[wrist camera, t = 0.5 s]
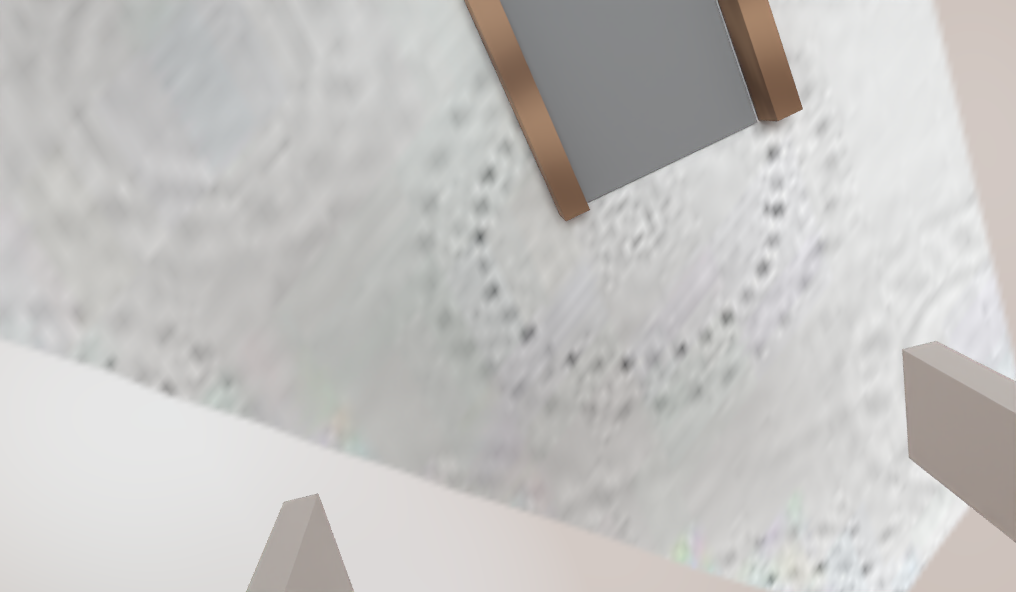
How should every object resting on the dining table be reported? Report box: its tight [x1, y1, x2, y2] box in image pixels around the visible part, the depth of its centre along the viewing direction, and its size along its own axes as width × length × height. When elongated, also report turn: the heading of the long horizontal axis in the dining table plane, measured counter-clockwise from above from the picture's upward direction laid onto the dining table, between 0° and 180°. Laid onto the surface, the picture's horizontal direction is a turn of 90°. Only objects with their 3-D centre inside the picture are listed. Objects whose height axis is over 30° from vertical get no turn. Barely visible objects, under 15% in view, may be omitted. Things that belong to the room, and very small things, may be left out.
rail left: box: [464, 0, 590, 221], centre depth 37 cm, size 18×2×2 cm, turn 25°
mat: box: [500, 0, 757, 202], centre depth 38 cm, size 16×11×1 cm
